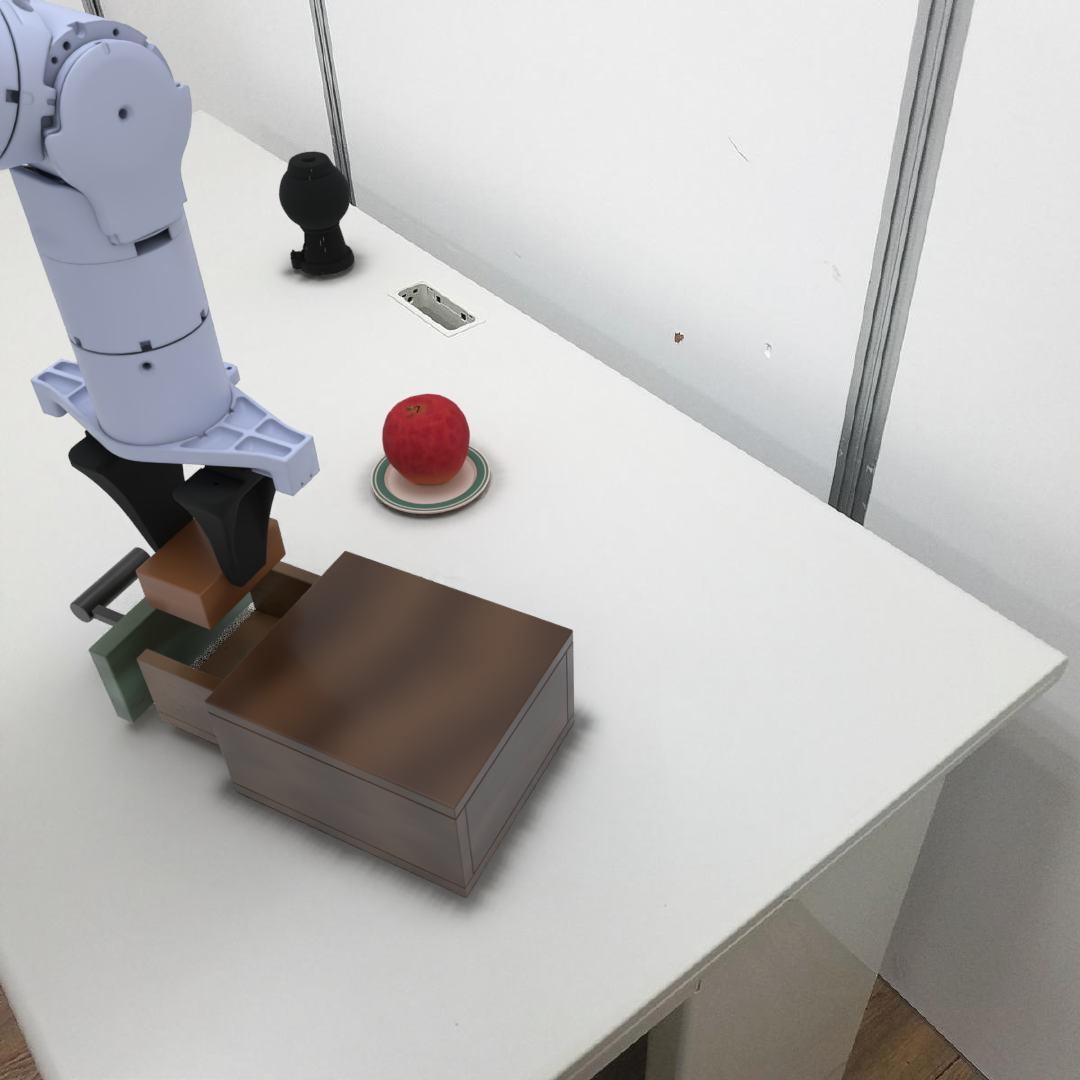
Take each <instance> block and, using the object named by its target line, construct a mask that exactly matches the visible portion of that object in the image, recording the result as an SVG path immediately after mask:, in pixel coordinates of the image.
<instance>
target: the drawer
mask: <svg viewBox="0 0 1080 1080" xmlns="http://www.w3.org/2000/svg"><path fill="white" fill-rule="evenodd" d="M151 556H152V555H150V553H149V552H147V550H145V549H144V548H142V547H139V546H135V547H133V548H132V549H131V550H130V551H128V553H127V554H126V555H124V556H123V557H122V558H121V559H120V560H118V561H117V562H116V563H114V565H113V566H111V567H110V568H109V569H108V570H107V571H106V572H105V573H104V574H102V576H101V577H99V578H97V580H96V581H95V582H94V583H92V584H91V585H90V586H89V587H87V589H85V590H84V591H83V592H82V593H81V594H80V595H78V596H77V597H76V598H75V599H73V601H72V602H71V603H70V605H69V608H70V611H71V612H72V614H73V615H74V616H75V617H76V618H77V619H78V620H79V621H81V622H83V623H86V624H88V623H91V622H92V621H93V620H97V621H99V622H102V623H104V624H107V625H109V626H111V628H109V629H108V630H107V631H106V632H105V633H104V634H102V636H101V637H100V638H99V639H98V640H96V641H95V642H94V643H93V644H92V645H91V646H90V647H89V648H88V653H89V655H90V657H91V659H92V662H93V664H94V666H95V668H96V671H97V673H98V675H99V677H100V679H101V682H102V684H103V686H104V689H105V691H106V693H107V695H108V698H109V700H110V702H111V705H112V707H113V709H114V712H115V713H116V716H117V717H118V718H120V719H122V720H124V721H127V722H129V723H131V724H135V723H136V722H138V720H139V719H140V718H141V717H142V716H143V715H144V714H145V713H146V712H147V711H148V710H149V709H150V708H151V707H152V706H153V705H154V706H155V708H156V710H157V713H158V715H159V718H160V720H162V721H164V722H166V723H168V724H170V725H172V726H175V727H177V728H179V729H181V730H184V731H185V732H188V733H190V734H193V735H195V736H198V737H199V738H202V739H204V740H207V741H208V742H211V743H213V744H216V745H217V746H220V745H219V742H218V739H217V737H216V734H215V731H214V728H213V725H212V723H211V720H210V717H209V714H208V711H207V708H206V705H205V702H204V701H205V700H206V699H207V697H208V696H209V695H210V694H211V693H212V692H213V691H214V690H215V689H216V688H217V687H218V686H219V685H220V684H221V682H222V681H223V680H224V679H225V678H226V677H227V676H228V675H229V674H230V673H231V672H232V671H233V670H234V669H235V668H236V666H237V665H238V664H239V663H240V662H241V661H242V660H243V659H244V658H245V657H246V656H247V655H248V654H249V653H250V652H251V650H252V649H253V648H254V647H255V646H256V645H257V644H258V643H259V642H260V641H261V640H262V639H263V638H264V637H265V635H266V634H267V633H268V632H269V631H270V630H271V629H272V628H273V627H274V626H275V625H276V624H277V623H278V622H279V621H280V619H281V618H282V617H283V616H284V615H285V614H286V613H287V612H288V611H289V610H290V609H291V608H292V607H293V606H294V605H295V603H296V602H297V601H298V600H299V599H300V598H301V597H302V596H303V595H304V594H305V593H306V592H307V591H308V590H309V588H310V587H311V586H312V585H313V584H314V583H315V582H316V581H317V580H318V579H319V578H320V577H321V576H322V575H320V574H318V573H315V572H313V571H309V570H306V569H304V568H301V567H299V566H295V565H293V564H291V563H287V562H285V561H281V560H280V561H279V562H278V563H277V564H276V565H275V566H274V567H273V568H272V569H271V570H270V571H269V572H268V573H267V574H266V575H265V576H264V577H263V578H262V579H261V580H260V581H259V582H258V583H257V584H256V585H255V586H254V587H253V588H252V589H251V590H250V591H249V592H248V594H247V595H246V596H245V597H244V598H243V599H242V600H241V601H240V602H239V603H238V604H237V605H236V606H235V607H234V608H233V609H232V610H231V611H230V612H229V613H228V614H227V615H226V616H225V617H224V618H223V619H222V620H221V621H220V622H219V623H218V624H217V625H216V626H215V627H214V628H213V629H212V630H209V629H207V628H204V627H202V626H199V625H197V624H194V623H192V622H189V621H187V620H184V619H182V618H179V617H177V616H174V615H172V614H169V613H167V612H164V611H162V610H159V609H157V608H154V607H152V606H149V605H148V603H147V600H146V598H145V596H144V597H143V598H142V599H141V600H139V602H138V603H136V605H135V606H134V607H132V608H131V609H130V610H128V612H127V613H126V614H124V613H120V612H118V611H117V610H116V611H115V610H114V609H111V608H108V606H109V605H111V603H113V602H114V601H115V600H116V599H117V598H118V597H119V596H120V595H122V594H123V593H124V592H125V591H126V590H127V589H128V588H129V587H130V586H131V585H133V584H134V583H135V582H136V581H137V580H139V579H138V576H137V573H136V570H137V569H138V568H139V567H140V566H141V565H142V564H143V563H144V562H146V561H147V560H148V559H149V558H150V557H151ZM251 604H253V607H254V608H253V610H252V612H251V613H250V614H249V615H248V616H247V617H246V618H245V619H244V620H243V621H242V622H241V623H240V624H239V625H238V626H237V627H236V628H235V629H234V630H233V631H232V632H231V633H230V634H229V635H228V636H227V638H225V640H223V642H221V644H220V645H218V647H217V648H216V649H215V650H214V651H213V652H212V653H211V654H210V655H209V656H208V657H207V658H206V659H205V660H204V661H203V663H201V664H200V666H198V667H197V668H195V667H192V665H193V664H194V663H195V662H196V661H197V660H198V659H199V657H201V655H202V654H204V652H205V651H206V650H207V649H208V648H209V647H210V646H212V644H214V642H215V641H216V640H217V639H218V638H219V637H220V636H221V635H222V634H223V633H224V632H225V631H226V630H227V629H228V628H229V627H230V626H231V625H232V624H233V623H234V622H235V621H236V620H237V619H238V617H240V615H241V614H243V613H244V612H245V611H246V610H247V609H248V608H249V606H250V605H251Z"/></svg>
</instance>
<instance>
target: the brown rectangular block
mask: <svg viewBox="0 0 1080 1080" xmlns="http://www.w3.org/2000/svg"><path fill="white" fill-rule="evenodd" d="M286 552H287V551H286V549H285V544H284V540H283V536H282V532H281V527H280V523H279V521H278V519H276V518H273V517H270V518H269V526H268V537H267V556H266V565H265V566H264V567H263V568H262V569H261V570H260V571H259V572H258V573H257V574H256V575H255V576H254V577H253V578H252V579H251V580H250V581H249V582H248V583H247V584H246V585H245V586H244V587H238V586H235V585H233V584H231V583H230V582H229V580H228V579H227V578H226V576H225V575H224V573H223V572H222V570H221V568H220V566H219V563H218V561H217V558H216V556H215V553H214V551H213V548H212V546H211V543H210V541H209V539H208V538H207V536H206V534H205V533H204V531H203V529H202V528H201V526H200V525H199V524H198V522H197V521H196V520H195V518H194V519H193V520H192V521H191V522H189V523H188V524H187V525H186V526H185V527H184V528H183V529H182V530H180V531H179V532H178V533H177V534H176V535H175V536H174V537H173V538H172V539H170V540H169V541H168V542H167V543H166V544H165V545H164V546H163V547H161V548H160V549H159V550H158V551H157V552H156V553H155V552H154V553H153V554H152V555H150V556H151V557H150V558H149V559H148V560H147V561H146V562H144V563H143V564H142V565H141V566H140V567H139V568H138V569H137V570H136V573H137V576H138V579H137V580H138V581H139V584H140V586H141V589H142V592H143V595H144V597H145V598H146V600H147V603H148V605H149V606H152V607H154V608H157V609H159V610H162V611H164V612H167V613H169V614H172V615H174V616H177V617H179V618H182V619H184V620H187V621H189V622H192V623H194V624H197V625H199V626H202V627H204V628H207V629H209V630H212V629H213V628H214V627H215V626H216V625H217V624H218V623H219V622H220V621H221V620H222V619H223V618H224V617H225V616H226V615H227V614H228V613H229V612H230V611H231V610H232V609H233V608H234V607H235V606H236V605H237V604H238V603H239V602H240V601H241V600H242V599H243V598H244V597H245V596H246V595H247V594H248V592H249V591H250V590H251V589H252V588H253V587H254V586H255V585H256V584H257V583H258V582H259V581H260V580H261V579H262V578H263V577H264V576H265V575H266V574H267V573H268V572H269V571H270V570H271V569H272V568H273V567H274V566H275V565H276V564H277V563H278V562H279V561H281V560H282V559H283V558H284V557H286V555H287V553H286Z"/></svg>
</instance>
